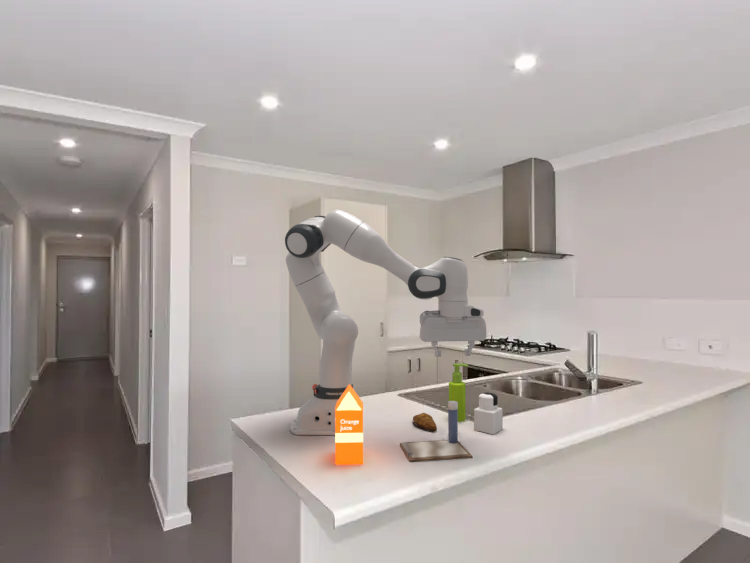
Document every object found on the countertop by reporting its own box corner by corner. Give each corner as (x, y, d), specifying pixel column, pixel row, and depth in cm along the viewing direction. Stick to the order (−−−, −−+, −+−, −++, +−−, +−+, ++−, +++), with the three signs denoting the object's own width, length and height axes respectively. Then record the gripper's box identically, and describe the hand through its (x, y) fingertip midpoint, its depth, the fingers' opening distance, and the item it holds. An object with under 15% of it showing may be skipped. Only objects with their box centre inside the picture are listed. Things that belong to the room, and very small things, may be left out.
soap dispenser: (468, 422, 153) (468, 365, 153) (448, 421, 154) (448, 364, 154) (468, 417, 158) (468, 362, 159) (449, 416, 160) (448, 362, 160)
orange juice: (363, 451, 127) (363, 383, 127) (363, 464, 118) (363, 390, 118) (336, 452, 126) (336, 383, 126) (334, 465, 118) (334, 390, 118)
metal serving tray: (409, 462, 119) (409, 456, 119) (399, 444, 132) (399, 439, 132) (472, 457, 122) (472, 452, 122) (456, 441, 135) (456, 436, 135)
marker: (450, 443, 131) (449, 403, 131) (446, 440, 133) (446, 401, 133) (459, 443, 131) (459, 403, 131) (456, 439, 134) (455, 400, 134)
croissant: (405, 423, 154) (405, 408, 154) (422, 420, 157) (422, 406, 157) (426, 434, 142) (425, 419, 142) (443, 431, 144) (443, 416, 144)
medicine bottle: (483, 424, 150) (482, 390, 150) (502, 429, 146) (502, 393, 146) (473, 430, 145) (473, 394, 145) (493, 435, 140) (493, 397, 140)
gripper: (422, 311, 128) (422, 358, 127) (488, 310, 131) (488, 356, 131) (417, 310, 134) (417, 355, 134) (480, 309, 137) (480, 353, 137)
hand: (453, 356), depth 132 cm, fingers open, 8 cm apart
